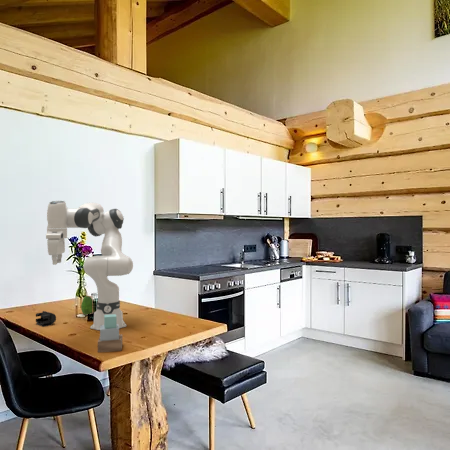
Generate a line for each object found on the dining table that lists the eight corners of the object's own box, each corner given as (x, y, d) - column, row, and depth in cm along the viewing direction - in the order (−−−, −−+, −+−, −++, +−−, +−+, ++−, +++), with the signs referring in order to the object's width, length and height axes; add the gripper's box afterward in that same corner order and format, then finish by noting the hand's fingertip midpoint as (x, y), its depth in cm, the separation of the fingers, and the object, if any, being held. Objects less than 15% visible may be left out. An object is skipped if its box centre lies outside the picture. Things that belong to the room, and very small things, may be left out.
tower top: (100, 336, 180) (100, 325, 180) (118, 334, 182) (118, 324, 182) (100, 341, 172) (100, 329, 172) (119, 339, 175) (119, 328, 175)
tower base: (100, 346, 181) (100, 335, 181) (122, 344, 183) (122, 334, 183) (97, 353, 172) (97, 341, 172) (121, 351, 174) (121, 340, 174)
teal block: (104, 326, 179) (104, 314, 179) (115, 325, 180) (115, 314, 180) (104, 328, 174) (104, 317, 174) (116, 327, 176) (116, 316, 176)
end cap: (56, 324, 221) (56, 312, 221) (43, 327, 215) (43, 314, 215) (47, 321, 227) (47, 310, 227) (35, 324, 221) (35, 312, 222)
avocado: (78, 316, 242) (78, 296, 242) (85, 313, 249) (85, 294, 249) (90, 316, 240) (90, 296, 240) (96, 313, 248) (96, 294, 248)
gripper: (54, 234, 197) (54, 261, 197) (44, 235, 177) (44, 265, 177) (68, 234, 199) (68, 261, 199) (59, 235, 179) (59, 265, 179)
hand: (57, 263), depth 188 cm, fingers open, 8 cm apart
